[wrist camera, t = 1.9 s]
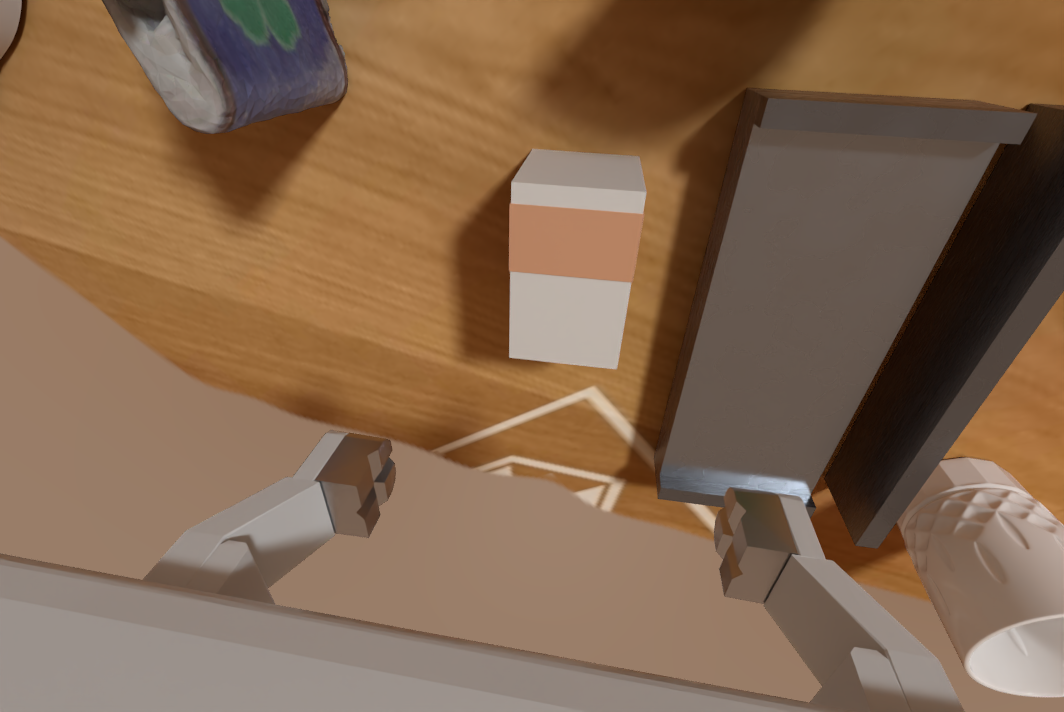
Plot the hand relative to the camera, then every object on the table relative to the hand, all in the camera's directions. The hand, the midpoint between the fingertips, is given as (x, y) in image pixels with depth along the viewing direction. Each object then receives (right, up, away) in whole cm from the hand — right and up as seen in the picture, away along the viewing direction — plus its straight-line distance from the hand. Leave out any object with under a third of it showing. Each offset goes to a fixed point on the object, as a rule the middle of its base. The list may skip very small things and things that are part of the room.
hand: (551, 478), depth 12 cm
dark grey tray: (+14, +5, +14) cm, 21 cm away
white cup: (+26, -6, +20) cm, 33 cm away
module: (+2, +9, +13) cm, 16 cm away
